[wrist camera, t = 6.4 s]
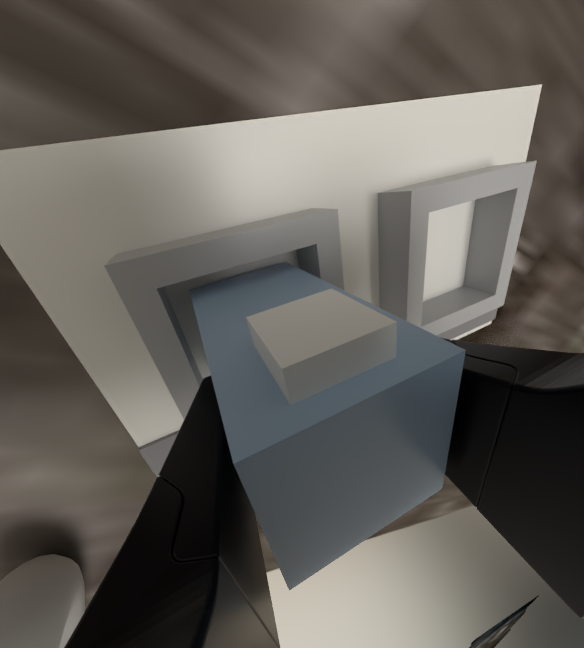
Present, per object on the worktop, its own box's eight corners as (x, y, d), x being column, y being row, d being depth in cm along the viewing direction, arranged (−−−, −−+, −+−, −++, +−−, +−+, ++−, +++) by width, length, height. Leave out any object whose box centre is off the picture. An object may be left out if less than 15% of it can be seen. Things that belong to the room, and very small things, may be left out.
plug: (300, 341, 13) (442, 488, 6) (220, 372, 12) (289, 589, 5) (282, 244, 11) (472, 312, 4) (182, 271, 10) (216, 425, 3)
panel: (478, 318, 21) (520, 334, 18) (161, 463, 14) (159, 518, 12) (520, 91, 14) (595, 67, 12) (-35, 162, 8) (-134, 142, 5)
